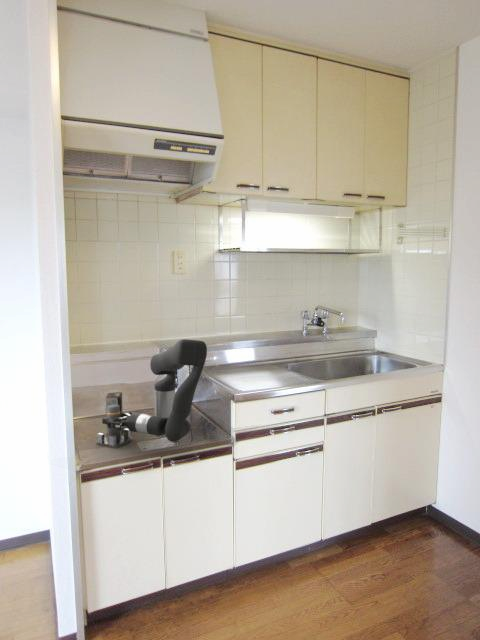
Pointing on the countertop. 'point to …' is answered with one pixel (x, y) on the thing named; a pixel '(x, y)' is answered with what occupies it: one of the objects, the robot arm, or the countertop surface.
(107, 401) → the coffee box
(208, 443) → the countertop surface
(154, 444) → the countertop surface
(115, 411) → the tube
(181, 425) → the robot arm
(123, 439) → the bracket
